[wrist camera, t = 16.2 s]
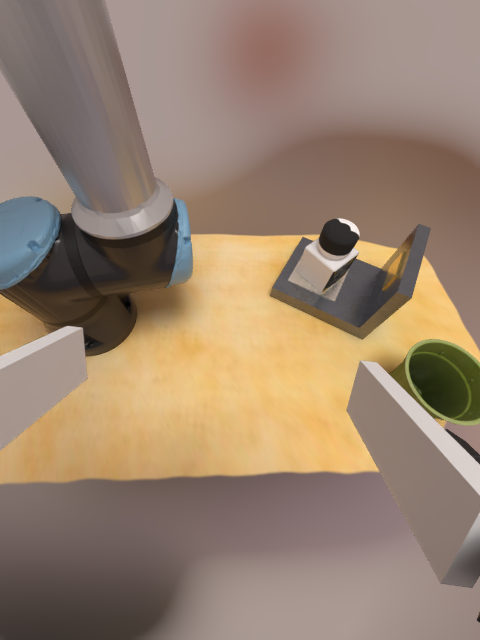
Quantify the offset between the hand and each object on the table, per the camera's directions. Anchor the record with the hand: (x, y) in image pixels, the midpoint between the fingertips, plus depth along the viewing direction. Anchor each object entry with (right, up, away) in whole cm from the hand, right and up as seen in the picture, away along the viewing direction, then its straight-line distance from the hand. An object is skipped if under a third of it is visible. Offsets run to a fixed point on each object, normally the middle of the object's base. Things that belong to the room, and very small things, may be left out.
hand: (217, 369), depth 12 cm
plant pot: (+29, -11, +32) cm, 45 cm away
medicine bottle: (+18, +12, +40) cm, 45 cm away
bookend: (+20, +9, +42) cm, 48 cm away
